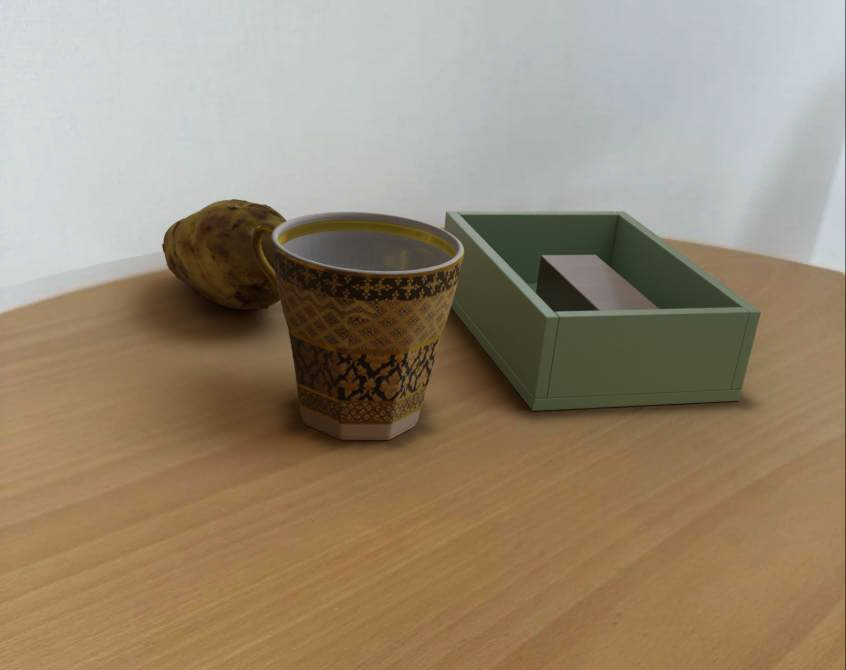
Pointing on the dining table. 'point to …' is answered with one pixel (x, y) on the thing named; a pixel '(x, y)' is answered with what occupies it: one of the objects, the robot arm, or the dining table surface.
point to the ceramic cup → (361, 314)
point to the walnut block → (585, 285)
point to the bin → (599, 314)
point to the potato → (223, 253)
